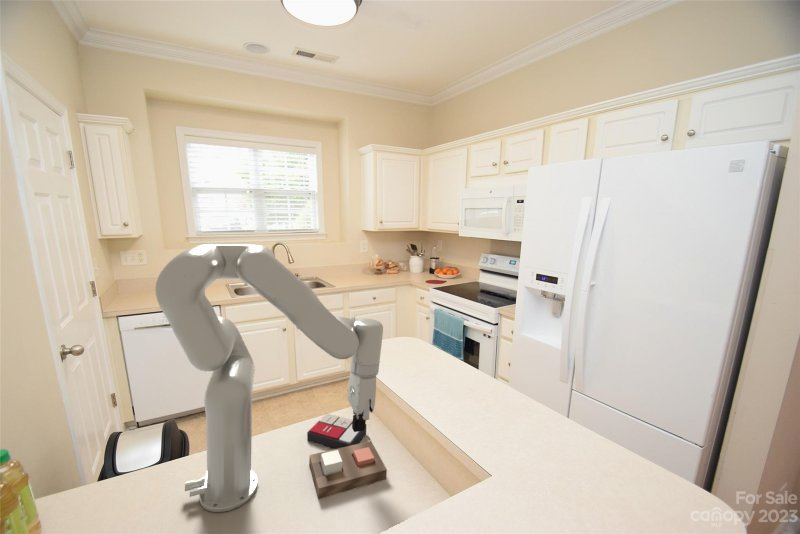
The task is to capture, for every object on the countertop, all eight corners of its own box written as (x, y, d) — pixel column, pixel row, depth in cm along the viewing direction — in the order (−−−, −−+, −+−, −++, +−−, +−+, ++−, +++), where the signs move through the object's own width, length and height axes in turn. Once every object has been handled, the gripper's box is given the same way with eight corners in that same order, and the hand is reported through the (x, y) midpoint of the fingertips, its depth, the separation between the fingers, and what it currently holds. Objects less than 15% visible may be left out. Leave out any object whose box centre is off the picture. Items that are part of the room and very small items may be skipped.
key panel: (318, 499, 81) (318, 488, 80) (309, 464, 91) (309, 455, 91) (386, 479, 88) (386, 469, 88) (370, 449, 99) (371, 440, 99)
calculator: (326, 411, 111) (367, 421, 106) (326, 423, 111) (366, 434, 106) (306, 430, 101) (350, 442, 96) (306, 443, 101) (350, 456, 96)
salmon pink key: (357, 475, 89) (358, 461, 88) (352, 463, 93) (353, 450, 92) (373, 470, 91) (374, 457, 90) (367, 459, 95) (368, 447, 94)
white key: (324, 479, 85) (325, 465, 84) (320, 467, 89) (321, 453, 88) (341, 475, 87) (342, 461, 86) (337, 463, 91) (337, 449, 90)
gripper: (343, 355, 93) (337, 415, 95) (360, 381, 80) (353, 450, 82) (368, 353, 96) (362, 412, 99) (388, 378, 83) (381, 444, 85)
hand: (358, 429), depth 90 cm, fingers closed
